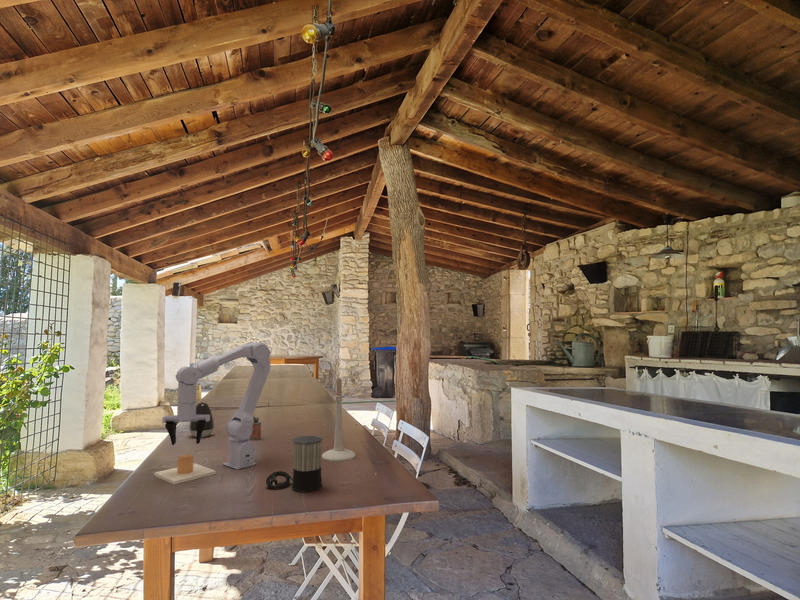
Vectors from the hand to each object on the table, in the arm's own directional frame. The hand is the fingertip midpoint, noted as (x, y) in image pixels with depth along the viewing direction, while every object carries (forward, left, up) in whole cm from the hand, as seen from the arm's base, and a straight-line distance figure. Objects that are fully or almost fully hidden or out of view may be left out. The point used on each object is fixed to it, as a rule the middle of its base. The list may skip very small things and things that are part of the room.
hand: (185, 443), depth 159 cm
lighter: (+27, -43, -10) cm, 52 cm away
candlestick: (-23, -48, -10) cm, 54 cm away
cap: (0, 0, -9) cm, 9 cm away
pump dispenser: (+50, -32, -10) cm, 60 cm away
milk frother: (-38, -16, -10) cm, 42 cm away
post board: (0, 0, -10) cm, 10 cm away
